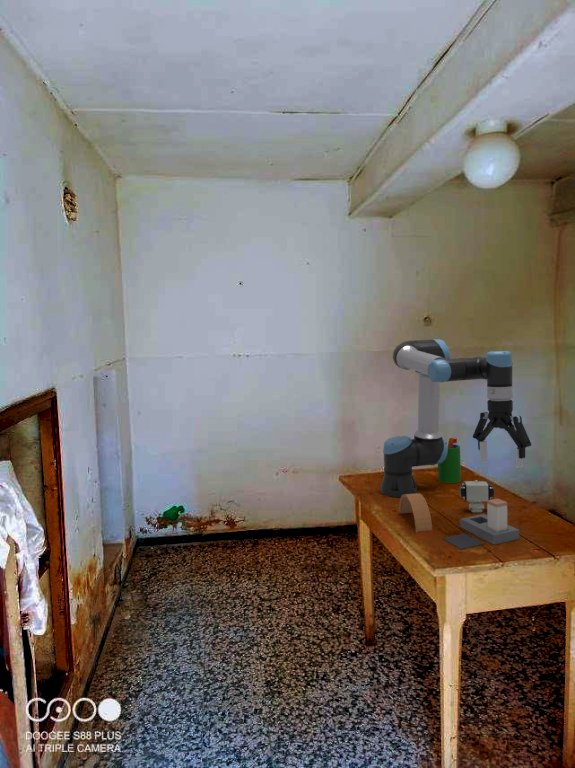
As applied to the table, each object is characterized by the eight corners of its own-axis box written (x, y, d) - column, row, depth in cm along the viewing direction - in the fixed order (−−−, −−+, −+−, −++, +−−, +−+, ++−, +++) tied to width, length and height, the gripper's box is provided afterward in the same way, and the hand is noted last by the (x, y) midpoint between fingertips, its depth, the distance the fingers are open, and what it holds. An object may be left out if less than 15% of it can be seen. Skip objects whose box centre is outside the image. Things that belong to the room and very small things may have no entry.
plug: (487, 535, 165) (487, 500, 164) (497, 533, 167) (497, 498, 166) (497, 540, 162) (496, 504, 160) (507, 538, 163) (507, 502, 162)
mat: (442, 540, 165) (442, 538, 165) (465, 535, 168) (465, 533, 168) (460, 551, 156) (460, 548, 156) (484, 545, 159) (484, 543, 159)
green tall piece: (448, 476, 235) (447, 434, 233) (465, 479, 228) (464, 436, 226) (435, 481, 229) (434, 437, 227) (452, 484, 222) (452, 440, 220)
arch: (413, 511, 192) (413, 486, 191) (432, 532, 172) (431, 503, 171) (398, 513, 192) (398, 487, 191) (415, 533, 172) (415, 505, 171)
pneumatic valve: (494, 514, 186) (494, 482, 184) (461, 513, 188) (460, 481, 187) (491, 508, 191) (491, 477, 190) (459, 508, 193) (458, 477, 192)
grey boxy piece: (460, 528, 174) (460, 518, 173) (484, 523, 177) (483, 513, 177) (494, 546, 159) (493, 535, 158) (518, 540, 162) (518, 529, 162)
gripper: (461, 397, 171) (462, 459, 173) (527, 403, 149) (528, 473, 151) (476, 395, 175) (477, 455, 176) (543, 401, 153) (543, 469, 155)
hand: (501, 464), depth 164 cm, fingers open, 13 cm apart
